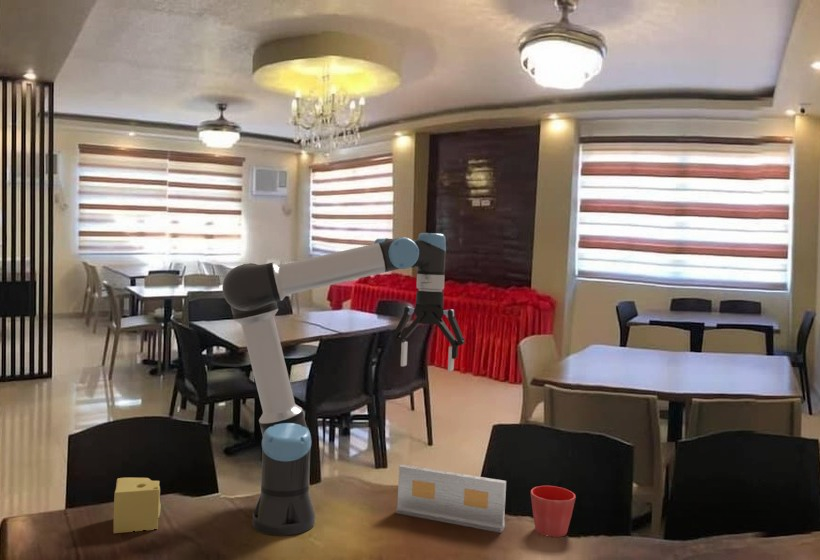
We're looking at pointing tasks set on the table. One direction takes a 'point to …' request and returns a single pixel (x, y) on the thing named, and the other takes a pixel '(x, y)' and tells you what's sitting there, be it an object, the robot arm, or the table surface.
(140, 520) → the cheese
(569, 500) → the flower pot
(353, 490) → the table surface
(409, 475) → the label panel
